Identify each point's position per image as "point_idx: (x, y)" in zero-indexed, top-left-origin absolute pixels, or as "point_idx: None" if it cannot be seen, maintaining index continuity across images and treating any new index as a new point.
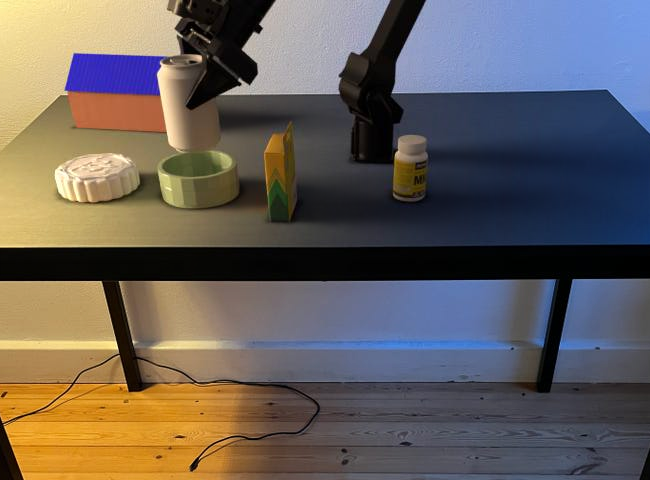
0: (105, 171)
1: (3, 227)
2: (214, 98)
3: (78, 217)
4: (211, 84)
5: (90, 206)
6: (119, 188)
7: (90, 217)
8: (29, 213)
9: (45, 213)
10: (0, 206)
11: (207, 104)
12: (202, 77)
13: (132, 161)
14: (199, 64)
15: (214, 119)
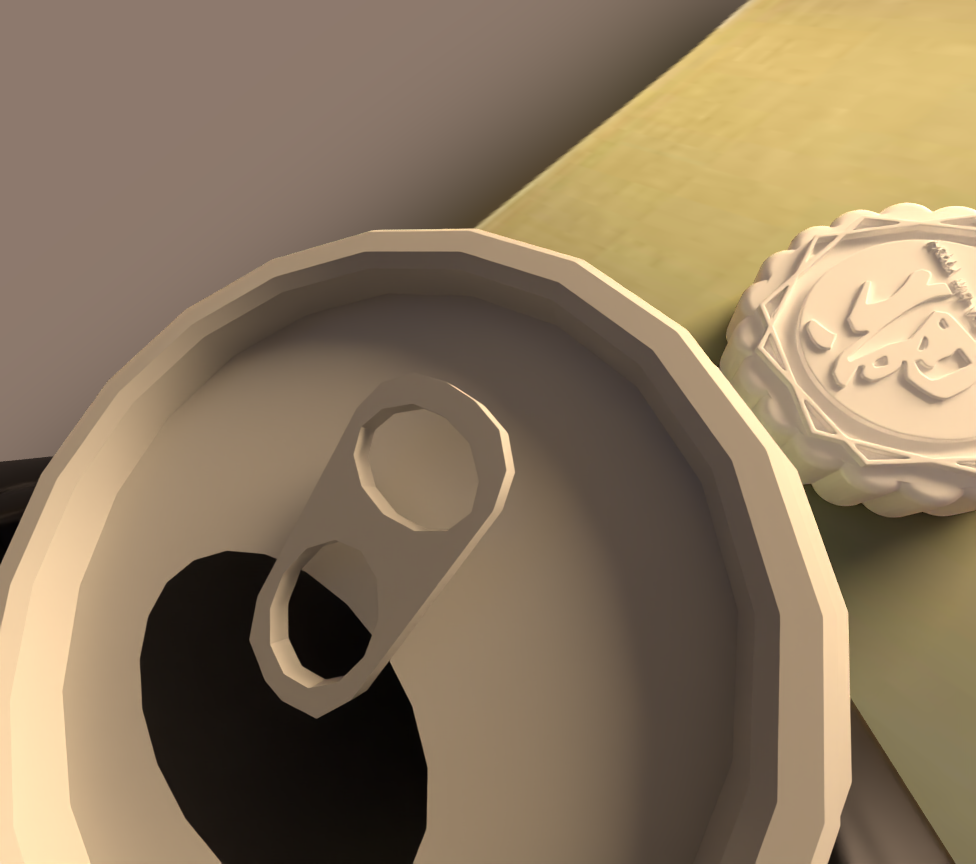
0: (808, 324)
1: (777, 88)
2: (300, 711)
3: (684, 233)
4: None
5: (733, 284)
6: (725, 359)
7: (658, 254)
8: (822, 152)
9: (786, 181)
10: (950, 108)
11: (294, 590)
12: (12, 462)
13: (869, 473)
14: (7, 605)
15: (356, 639)
